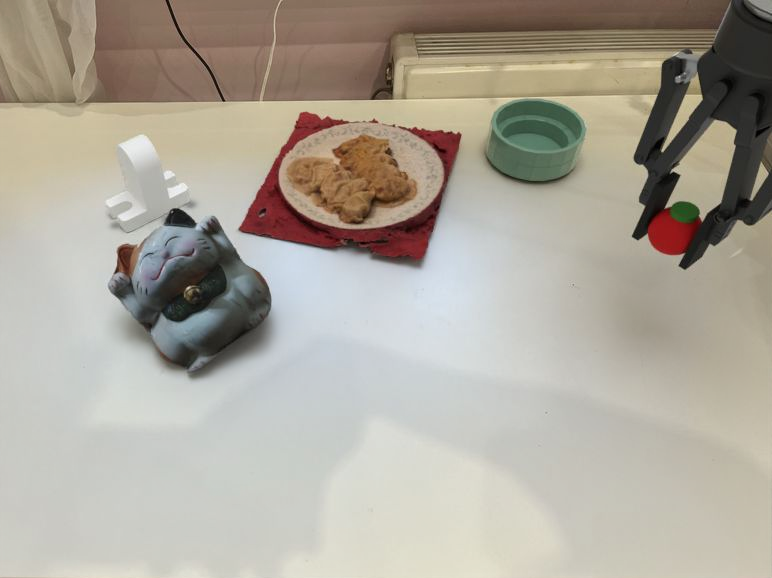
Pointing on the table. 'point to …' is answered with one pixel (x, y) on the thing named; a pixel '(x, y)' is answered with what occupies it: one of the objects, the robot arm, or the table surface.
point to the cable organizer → (144, 186)
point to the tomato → (674, 228)
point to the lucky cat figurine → (190, 289)
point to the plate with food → (355, 185)
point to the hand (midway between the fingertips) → (666, 246)
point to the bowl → (535, 139)
